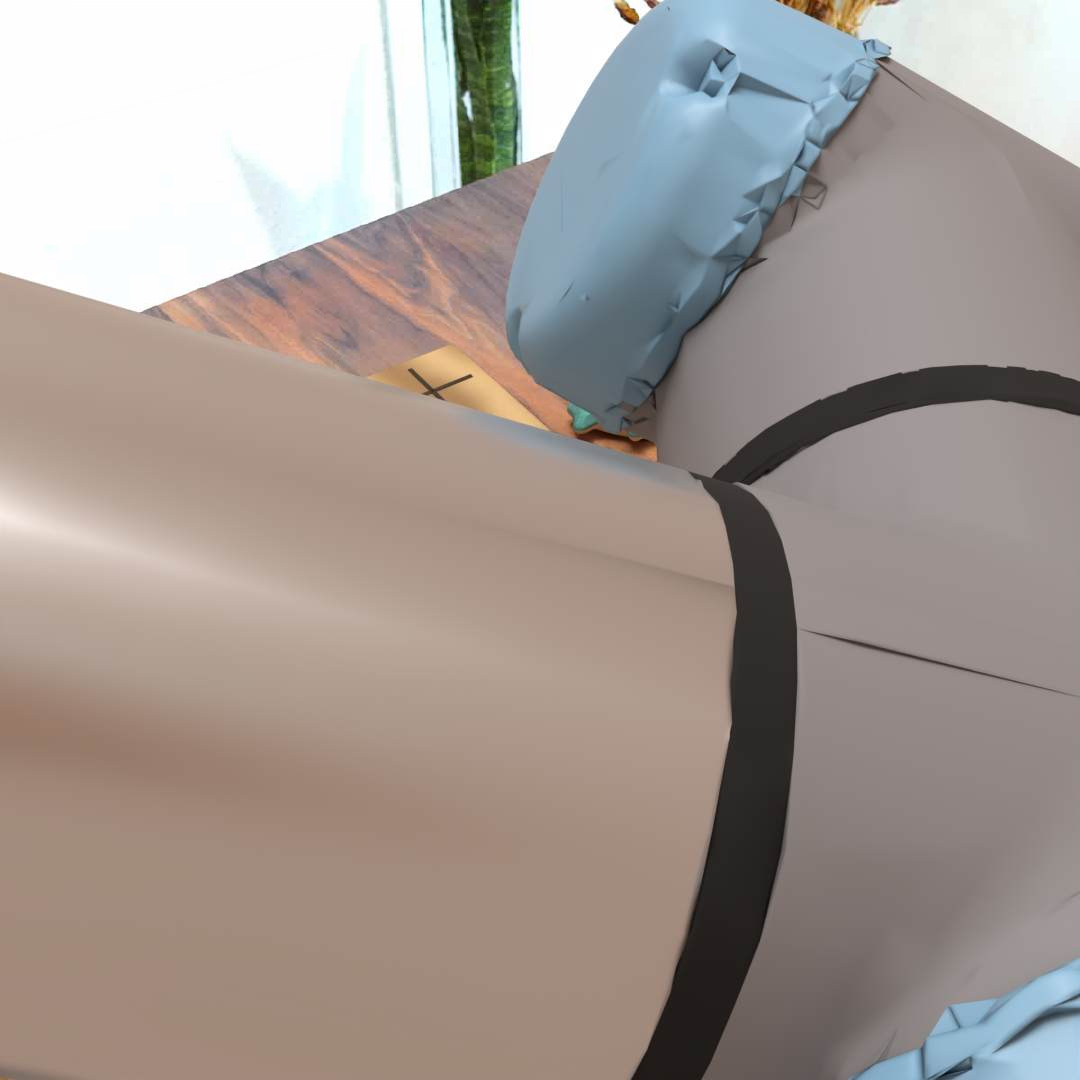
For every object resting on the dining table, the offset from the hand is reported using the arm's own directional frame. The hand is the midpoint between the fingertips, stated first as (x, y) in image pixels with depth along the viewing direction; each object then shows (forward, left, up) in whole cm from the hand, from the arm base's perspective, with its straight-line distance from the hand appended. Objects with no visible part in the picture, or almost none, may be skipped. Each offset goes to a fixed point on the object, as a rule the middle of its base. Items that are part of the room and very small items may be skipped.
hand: (613, 625), depth 58 cm
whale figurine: (+21, +27, -17) cm, 38 cm away
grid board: (+6, +30, -17) cm, 35 cm away
